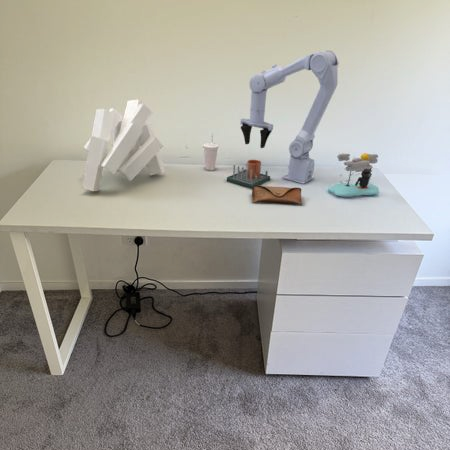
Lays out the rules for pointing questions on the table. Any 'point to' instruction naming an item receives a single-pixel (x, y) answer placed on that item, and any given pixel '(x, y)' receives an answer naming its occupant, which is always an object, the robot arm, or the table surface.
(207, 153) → the smoothie
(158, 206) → the table surface
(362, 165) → the penguin figurine
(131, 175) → the pile of blocks
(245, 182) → the rack
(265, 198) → the sunglasses case
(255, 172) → the cup
